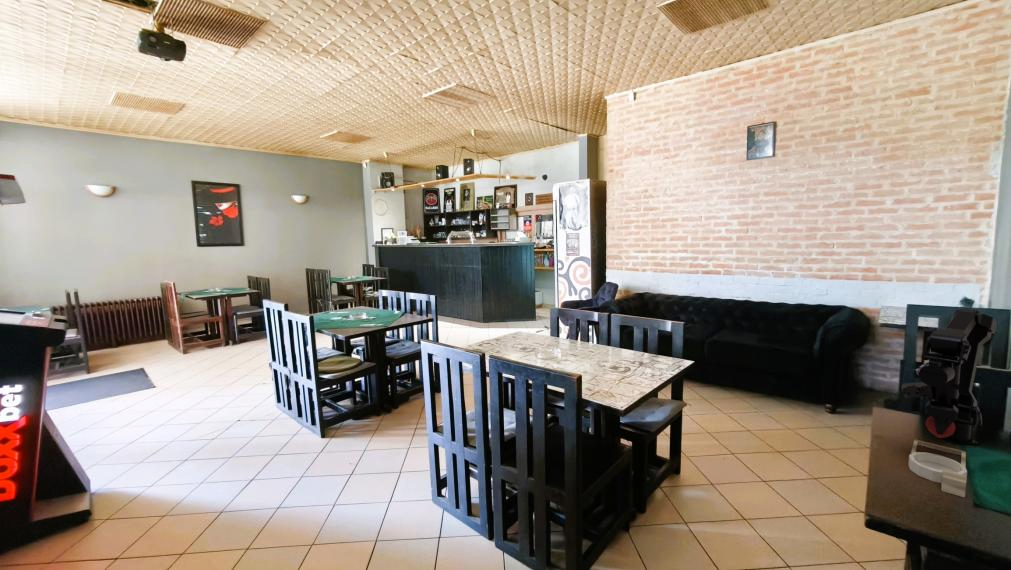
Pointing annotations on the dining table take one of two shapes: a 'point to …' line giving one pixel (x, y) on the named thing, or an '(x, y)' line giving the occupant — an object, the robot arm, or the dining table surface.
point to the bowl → (934, 466)
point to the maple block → (953, 483)
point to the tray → (942, 448)
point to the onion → (932, 429)
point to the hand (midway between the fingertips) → (940, 430)
